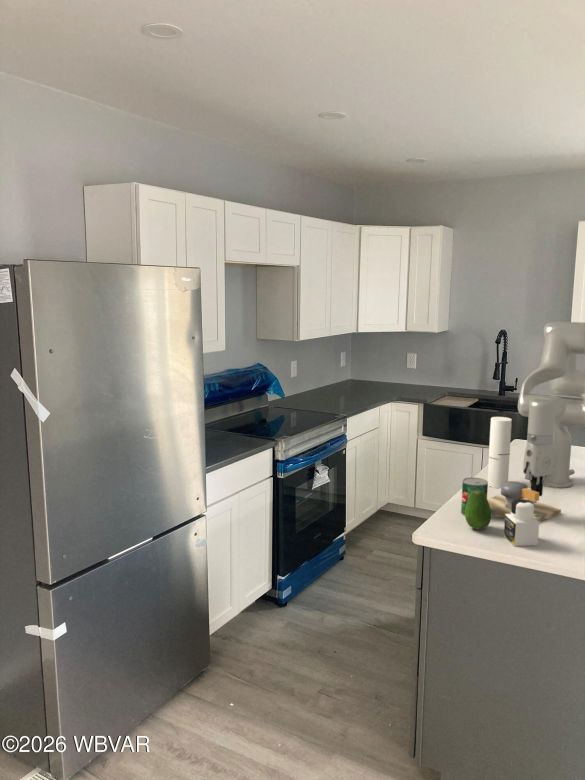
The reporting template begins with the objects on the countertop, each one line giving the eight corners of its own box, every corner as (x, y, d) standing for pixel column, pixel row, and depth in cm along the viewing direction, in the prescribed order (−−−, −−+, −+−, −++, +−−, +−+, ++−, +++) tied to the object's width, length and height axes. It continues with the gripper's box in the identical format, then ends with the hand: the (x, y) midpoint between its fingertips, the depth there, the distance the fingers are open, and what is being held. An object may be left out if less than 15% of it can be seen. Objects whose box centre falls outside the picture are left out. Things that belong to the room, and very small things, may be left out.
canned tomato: (455, 511, 205) (457, 478, 203) (476, 508, 208) (477, 476, 206) (470, 519, 198) (472, 486, 196) (491, 516, 200) (493, 483, 199)
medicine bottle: (503, 536, 185) (505, 497, 183) (526, 535, 185) (529, 496, 183) (513, 546, 178) (516, 506, 176) (538, 545, 178) (540, 505, 176)
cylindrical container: (508, 489, 227) (513, 421, 222) (488, 487, 228) (492, 420, 224) (506, 482, 234) (510, 417, 229) (486, 481, 235) (489, 416, 231)
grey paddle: (495, 493, 205) (496, 483, 205) (512, 489, 209) (513, 479, 208) (527, 505, 194) (528, 495, 193) (545, 500, 198) (546, 491, 197)
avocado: (460, 524, 194) (462, 486, 192) (485, 523, 195) (487, 486, 193) (469, 534, 186) (471, 495, 184) (495, 533, 187) (497, 495, 185)
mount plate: (508, 496, 219) (509, 481, 218) (560, 513, 202) (561, 497, 202) (473, 506, 209) (474, 491, 208) (526, 526, 192) (527, 508, 192)
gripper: (534, 444, 189) (531, 503, 192) (565, 438, 197) (561, 494, 200) (514, 439, 195) (510, 496, 198) (544, 433, 203) (540, 487, 206)
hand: (536, 495), depth 199 cm, fingers closed
